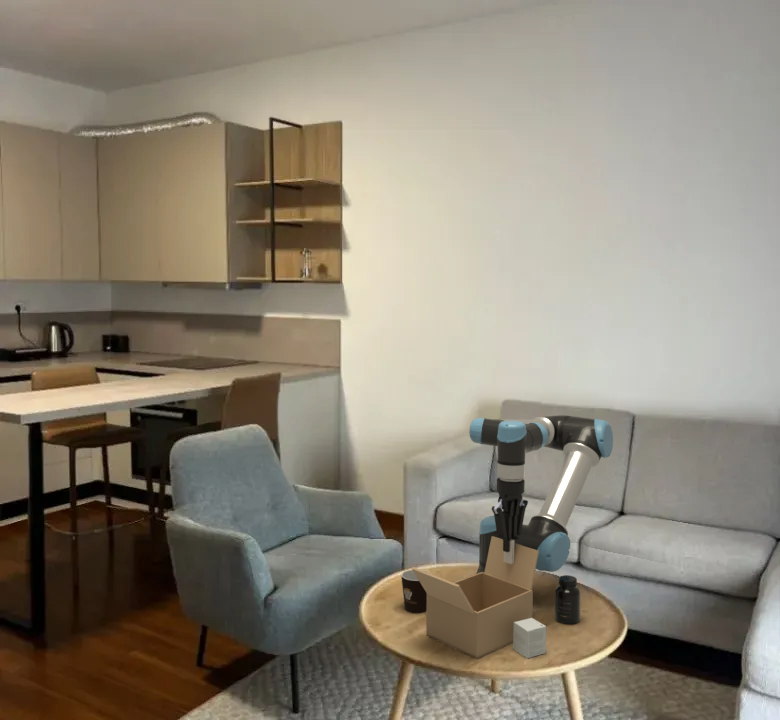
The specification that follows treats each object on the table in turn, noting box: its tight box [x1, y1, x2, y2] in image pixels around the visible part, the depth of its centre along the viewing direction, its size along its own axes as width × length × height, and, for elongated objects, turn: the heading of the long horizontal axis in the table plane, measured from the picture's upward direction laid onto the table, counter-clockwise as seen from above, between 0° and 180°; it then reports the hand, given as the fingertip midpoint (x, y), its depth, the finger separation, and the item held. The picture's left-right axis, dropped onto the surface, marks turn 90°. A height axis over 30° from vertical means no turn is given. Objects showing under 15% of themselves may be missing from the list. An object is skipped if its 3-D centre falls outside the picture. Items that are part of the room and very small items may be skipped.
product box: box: [512, 617, 547, 659], centre depth 205 cm, size 6×6×7 cm
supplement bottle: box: [554, 574, 581, 625], centre depth 223 cm, size 7×7×12 cm
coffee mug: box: [400, 569, 430, 614], centre depth 229 cm, size 12×9×10 cm
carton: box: [425, 572, 534, 660], centre depth 214 cm, size 22×18×12 cm
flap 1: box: [411, 566, 475, 614], centre depth 203 cm, size 10×16×1 cm
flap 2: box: [484, 536, 539, 590], centre depth 221 cm, size 10×16×1 cm
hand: (508, 562), depth 220 cm, fingers closed
